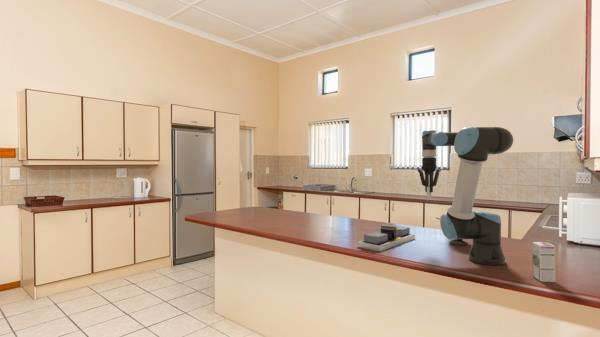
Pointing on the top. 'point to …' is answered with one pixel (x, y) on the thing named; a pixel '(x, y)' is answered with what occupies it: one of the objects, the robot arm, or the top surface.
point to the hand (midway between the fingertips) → (429, 198)
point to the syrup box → (544, 261)
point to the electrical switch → (389, 231)
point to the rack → (385, 239)
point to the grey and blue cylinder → (458, 242)
